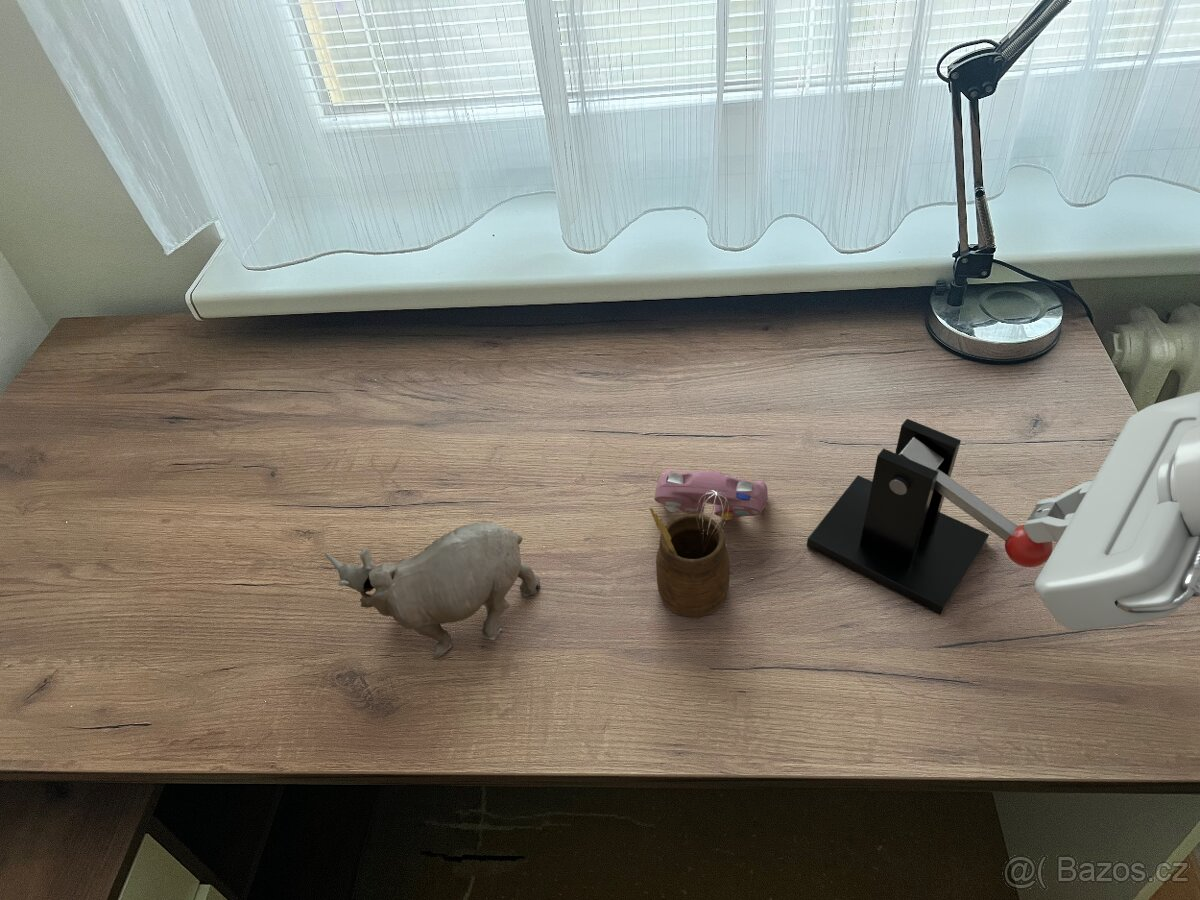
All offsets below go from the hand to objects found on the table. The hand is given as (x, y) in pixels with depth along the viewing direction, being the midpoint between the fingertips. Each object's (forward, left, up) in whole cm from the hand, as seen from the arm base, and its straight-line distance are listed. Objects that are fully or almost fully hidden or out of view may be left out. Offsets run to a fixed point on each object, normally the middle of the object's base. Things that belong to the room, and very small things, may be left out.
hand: (1034, 522), depth 64 cm
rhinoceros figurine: (+43, +17, -9) cm, 47 cm away
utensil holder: (+24, +8, -9) cm, 27 cm away
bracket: (+9, -2, -9) cm, 13 cm away
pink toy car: (+25, -1, -9) cm, 27 cm away
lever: (+5, -1, -2) cm, 5 cm away
